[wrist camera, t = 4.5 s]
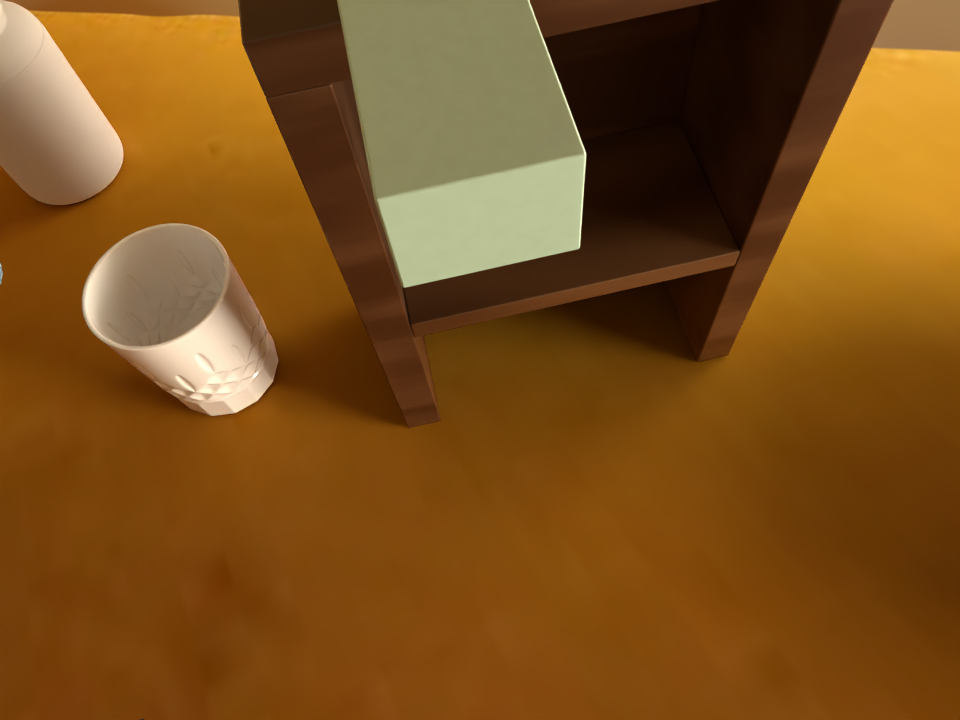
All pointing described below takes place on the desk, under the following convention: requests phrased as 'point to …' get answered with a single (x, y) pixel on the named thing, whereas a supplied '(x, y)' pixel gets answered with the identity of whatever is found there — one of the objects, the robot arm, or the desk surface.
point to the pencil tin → (463, 134)
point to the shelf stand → (594, 158)
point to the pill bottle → (49, 117)
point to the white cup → (182, 317)
